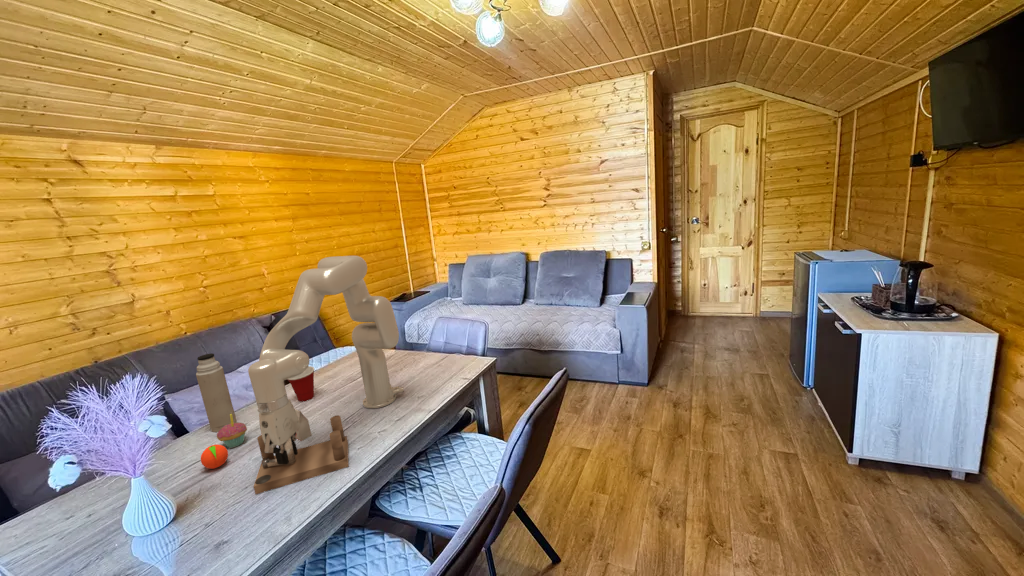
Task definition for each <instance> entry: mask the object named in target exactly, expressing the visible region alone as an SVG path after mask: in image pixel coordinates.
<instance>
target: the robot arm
mask: <svg viewBox="0 0 1024 576" xmlns="http://www.w3.org/2000/svg"><path fill="white" fill-rule="evenodd" d="M367 272H368V265H367V262H366V260H364V258H363V257H361V256H359V255H343V256H341V255H340V256H339V255H337V256H328V257H327V256H326V257H324V258H321V259H320V260H319V261H318V263H317V268H310V269H309V268H308V269H306V270H303V272H301V274H300V276H299V278H298V281H297V283H296V286H295V289H294V292H293V296H292V299H291V302H290V305H289V308H288V310H287V313H286V314H285V315H284V316H283V317H282V318H281V319H280V320H279V321H278V322H277V323H276V324H275V325H274V326H273V328H272V329H271V330H270V331H269V333H268V334H267V336H266V337H265V339H264V343H263V345H262V347H261V350H260V353H259V360H258V361H256V362H253V363H252V364H251V365H249V367H248V370H247V373H248V377H249V380H250V384H251V387H252V388H251V389H252V391H253V396H254V398H255V401H256V405H257V412H258V413H259V414H258V421H259V427H260V435H262V439H263V442H264V444H265V453H273V454H274V456H275V455H276V459H277V463H278V464H288V463H289V460H288V456H287V453H286V451H284V447H283V443H285V442H286V441H287V440H288V439H289V438H290V437H291V441H292V446H293V450H294V454H295V455H297V454H298V452H297V445H296V441H297V439H296V437H295V435H296V431H297V430H298V429H299V427H300V424H299V420H298V417H297V414H296V411H295V409H296V408H295V406H294V404H293V403H292V401H291V400H290V398H289V397H288V394H287V389H286V385H285V381H286V380H287V379H289V378H292V377H295V376H298V375H300V374H301V373H303V372H304V371H305V370H306V369H307V368H308V366H310V356H309V355H308V353H306V352H304V351H303V350H301V349H300V350H299V349H286V346H287V345H288V343H289V341H290V340H291V339H292V337H293V336H295V335H296V334H298V332H301V330H303V329H306V328H307V327H310V326H311V325H313V324H315V323H316V322H317V320H318V317H319V314H320V311H321V307H322V305H323V301H324V298H325V296H327V295H328V296H332V295H333V296H336V295H339V294H342V295H343V299H344V302H345V304H346V305H345V306H346V309H347V312H348V314H349V317H350V319H351V320H352V321H354V322H357V323H359V324H357V325H356V326H355V327H354V328H353V329H352V332H351V340H352V343H353V346H354V348H355V351H356V353H357V356H358V362H359V368H360V372H361V378H362V384H363V388H364V393H365V394H364V395H365V398H364V399H363V400H362V405H363V407H364V408H366V409H378V408H383V407H386V406H389V405H391V404H392V403H394V402H395V401H396V399H397V394H400V393H404V391H405V390H404V387H403V386H402V387H400V385H398V386H392V385H391V381H390V376H389V369H388V364H387V358H386V355H385V352H384V350H389V349H392V348H395V347H396V346H397V345H398V343H399V339H400V333H399V329H398V328H399V327H398V324H397V319H396V316H395V311H394V308H393V306H392V303H391V302H390V300H389V299H388V298H386V296H382V295H381V296H380V295H371V294H370V293H369V289H368V287H367V284H366V281H365V279H364V278H365V277H366V275H367ZM277 446H278V447H277Z"/></svg>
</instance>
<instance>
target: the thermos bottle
mask: <svg viewBox="0 0 1024 576" xmlns="http://www.w3.org/2000/svg"><path fill="white" fill-rule="evenodd" d="M196 360H197V361H198V362H197V363H198V365H197V366H196V373H195V376H196V379H197V380H196V381H197V384H198V387H199V390H200V394H201V398H202V401H203V405H204V410H205V412H206V416H207V420H208V424H209V427H210V431H211V432H213V433H218V432H219V430H220V429H221V428H223V427H224V426H225V425H228V424H230V423H231V419H230V414H232V416H233V423H237V422H238V421H237V418H236V413H235V409H234V406H233V403H232V399H231V394H230V391H229V386H228V383H227V379H226V376H225V371H224V368H223V366H221V365H220V362H219V361H218V360H216V358H215V353H211V352H210V353H205V354H202V355H199V356H198V357H197V359H196Z"/></svg>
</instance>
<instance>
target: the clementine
mask: <svg viewBox="0 0 1024 576" xmlns="http://www.w3.org/2000/svg"><path fill="white" fill-rule="evenodd" d="M228 457H229V451H228V449H227V448H226V446H224V445H222V444H212V445H210V446H209V445H208V446H207V447H206V448H205V449H204V450H203V451H202V453H201V456H200V463H201V465H202V466H203V467H204V468H207V469H210V470H211V469H213V470H214V469H217V468H219V467H221V466H223V465H224V464H225V463H226V461H227V459H228Z"/></svg>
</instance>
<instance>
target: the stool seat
mask: <svg viewBox="0 0 1024 576" xmlns="http://www.w3.org/2000/svg"><path fill="white" fill-rule="evenodd" d="M330 425H331V430H332V431H331V432H330V433H329V434H328V436H329V440H326V441H324V442H323V441H322V442H319V443H315V444H312V445H308V446H304V447H300V448H298V449H297V452H298V454H297V455H295V459H296V461H295V462H294V463H293V464H291V465H287V466H285V465H284V464H283V465H277V466H270V467H266V468H263V466H262V462H261V463H260V465H259V468H258V472H257V475H256V478H255V481H254V484H253V490H254V492H255V493H254V494H255V495H259V494H262V493H265V492H269V491H272V490H275V489H279V488H282V487H285V485H286V486H288V485H291V484H296V483H298V482H302V481H305V480H309V479H311V478H312V479H313V478H315V477H318V476H322V475H326V474H329V473H333V472H335V471H339V470H342V469H346V468H348V467H349V441H348V436H347V435H345V431H344V428H343V422H342V417H341V415H334V416H331V417H330ZM256 439H257V442H258V447H259V450H260V454H261V459H262V460H263V459H265V458H269V460H273V459H276V455H275V454H273V453H265V444H264V442H263V439H262V435H261V434H260V435H259V436H257V438H256ZM262 460H261V461H262ZM271 489H272V490H271ZM268 490H269V491H268ZM264 491H265V492H264Z"/></svg>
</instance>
